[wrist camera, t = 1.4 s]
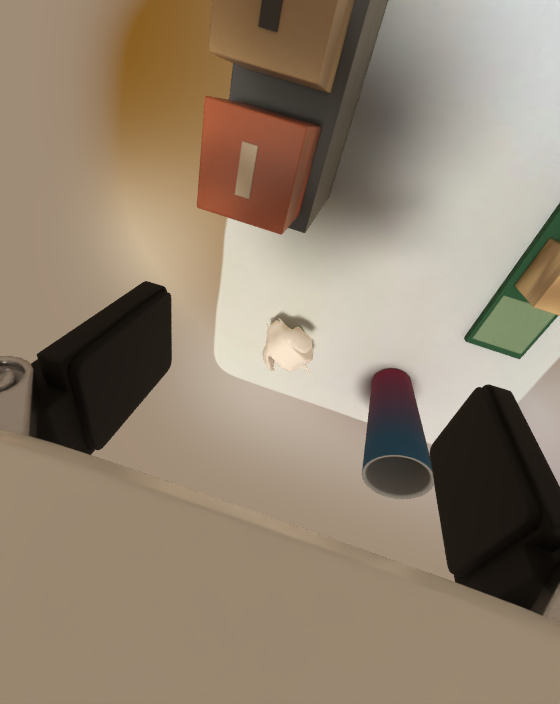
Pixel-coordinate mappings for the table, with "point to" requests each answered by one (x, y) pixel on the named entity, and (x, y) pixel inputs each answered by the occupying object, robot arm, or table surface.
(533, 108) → the table surface
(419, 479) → the cup
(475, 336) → the green tile rack
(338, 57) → the near dark gray stand
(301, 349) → the elephant figurine
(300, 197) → the slotted orange cube
